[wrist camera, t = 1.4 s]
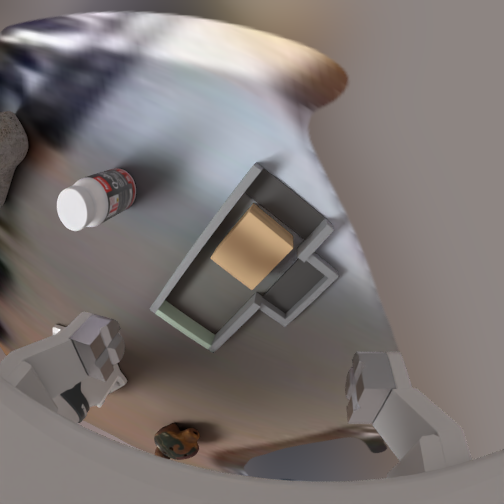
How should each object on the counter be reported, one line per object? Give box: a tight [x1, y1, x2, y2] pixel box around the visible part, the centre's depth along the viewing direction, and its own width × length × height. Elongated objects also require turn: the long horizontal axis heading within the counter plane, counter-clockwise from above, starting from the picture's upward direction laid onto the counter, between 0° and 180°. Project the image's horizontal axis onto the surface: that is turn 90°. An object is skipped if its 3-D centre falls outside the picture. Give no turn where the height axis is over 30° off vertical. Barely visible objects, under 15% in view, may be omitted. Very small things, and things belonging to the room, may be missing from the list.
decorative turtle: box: [154, 423, 200, 460], centre depth 52 cm, size 10×15×8 cm, turn 142°
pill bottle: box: [57, 169, 136, 231], centre depth 30 cm, size 6×6×10 cm
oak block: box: [211, 203, 293, 290], centre depth 33 cm, size 7×6×4 cm
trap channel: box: [150, 163, 339, 353], centre depth 36 cm, size 24×16×2 cm, turn 143°
